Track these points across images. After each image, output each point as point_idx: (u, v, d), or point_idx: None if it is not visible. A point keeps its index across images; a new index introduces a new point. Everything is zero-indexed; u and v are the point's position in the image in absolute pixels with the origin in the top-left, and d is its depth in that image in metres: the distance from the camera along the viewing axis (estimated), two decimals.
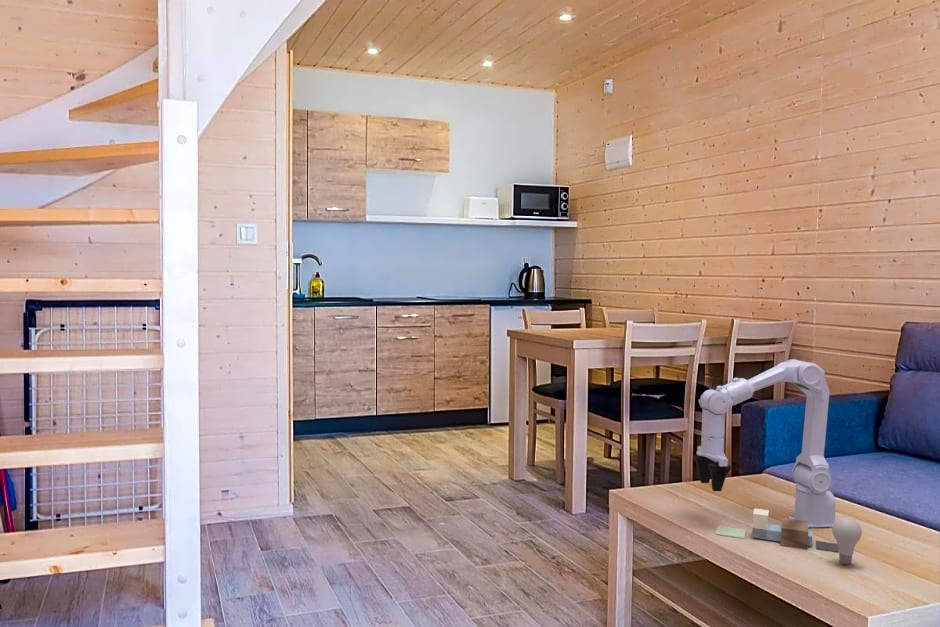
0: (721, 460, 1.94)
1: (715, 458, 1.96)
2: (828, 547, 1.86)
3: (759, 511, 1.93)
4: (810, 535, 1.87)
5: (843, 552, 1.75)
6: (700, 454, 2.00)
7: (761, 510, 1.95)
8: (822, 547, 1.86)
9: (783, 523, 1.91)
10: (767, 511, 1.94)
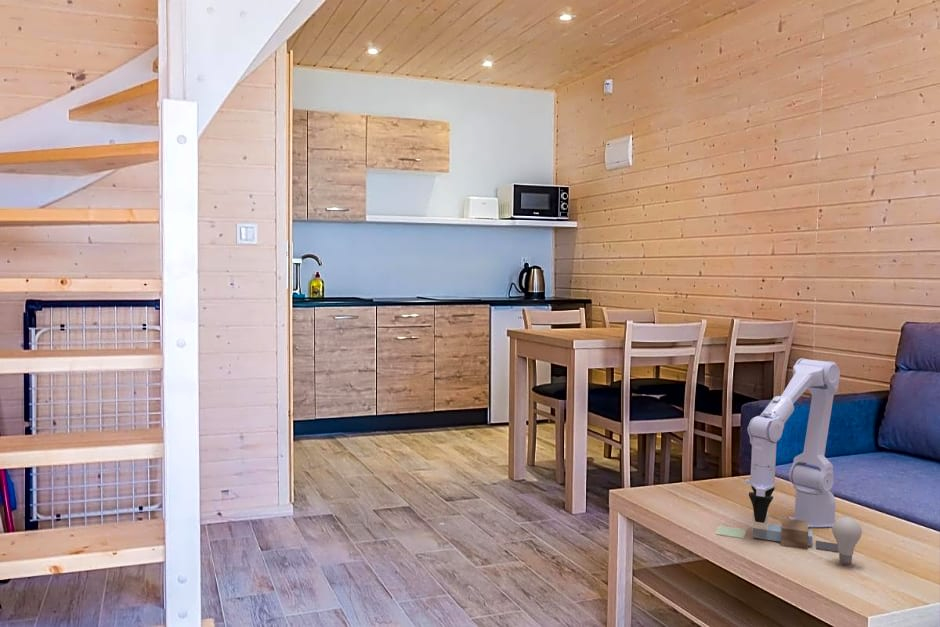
0: (757, 489, 1.87)
1: (755, 487, 1.89)
2: (828, 547, 1.86)
3: None
4: (810, 535, 1.87)
5: (843, 552, 1.75)
6: (747, 482, 1.94)
7: None
8: (822, 547, 1.86)
9: (783, 523, 1.91)
10: (767, 511, 1.94)
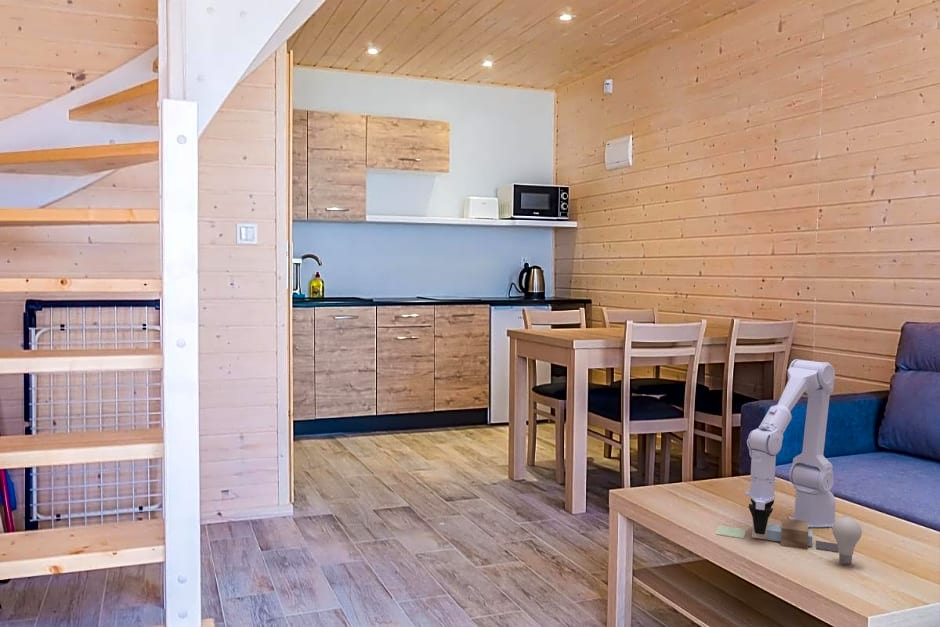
0: (757, 503, 1.87)
1: (754, 500, 1.89)
2: (828, 547, 1.86)
3: None
4: (810, 535, 1.87)
5: (843, 552, 1.75)
6: (746, 494, 1.94)
7: None
8: (822, 547, 1.86)
9: (783, 523, 1.91)
10: None
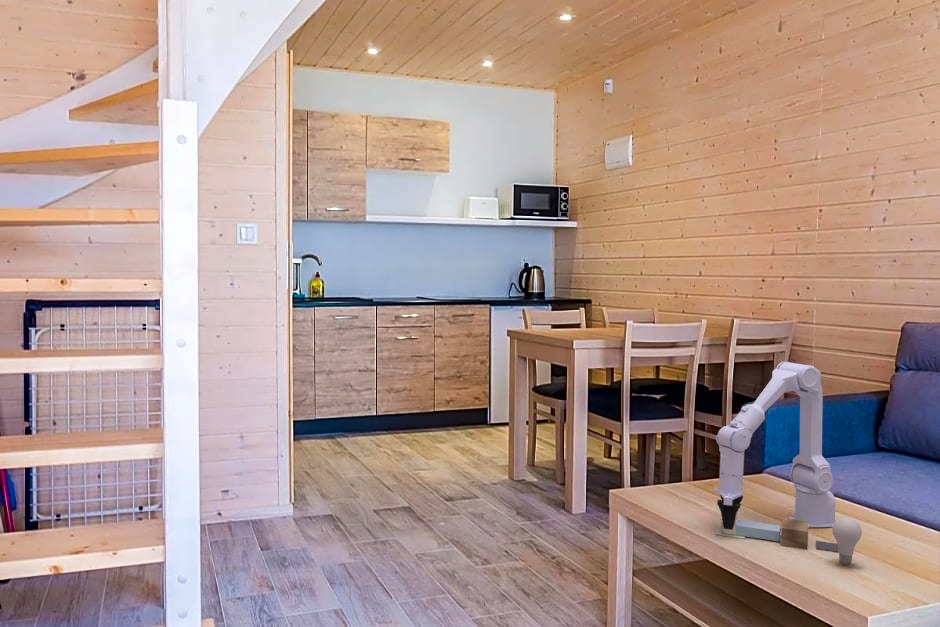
0: (725, 498, 1.90)
1: (723, 496, 1.92)
2: (828, 547, 1.86)
3: None
4: (778, 530, 1.90)
5: (843, 552, 1.75)
6: (715, 490, 1.97)
7: None
8: (822, 547, 1.86)
9: (783, 523, 1.91)
10: None
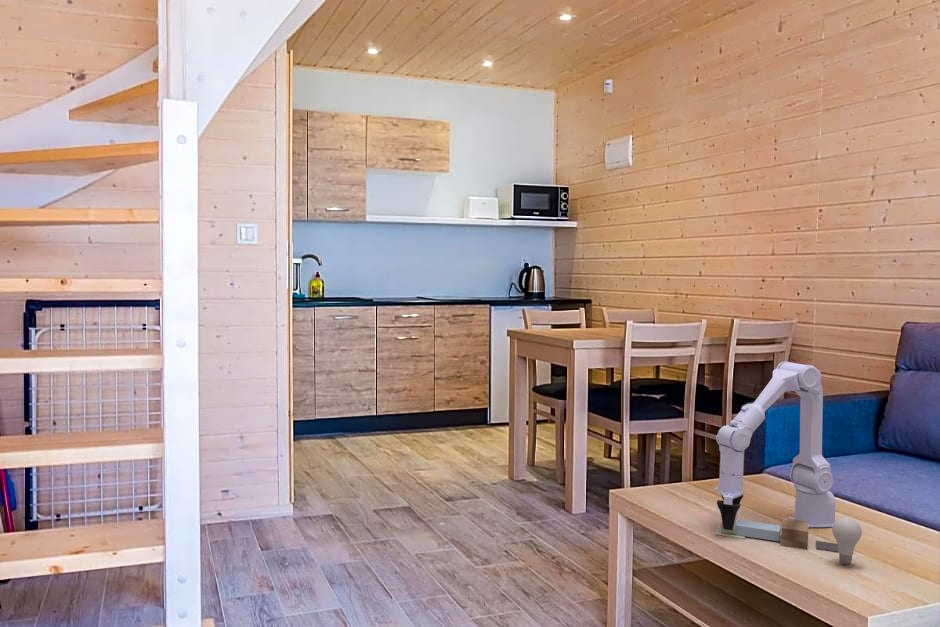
0: (725, 498, 1.90)
1: (723, 495, 1.92)
2: (828, 547, 1.86)
3: None
4: (778, 530, 1.90)
5: (843, 552, 1.75)
6: (715, 490, 1.97)
7: None
8: (822, 547, 1.86)
9: (783, 523, 1.91)
10: None
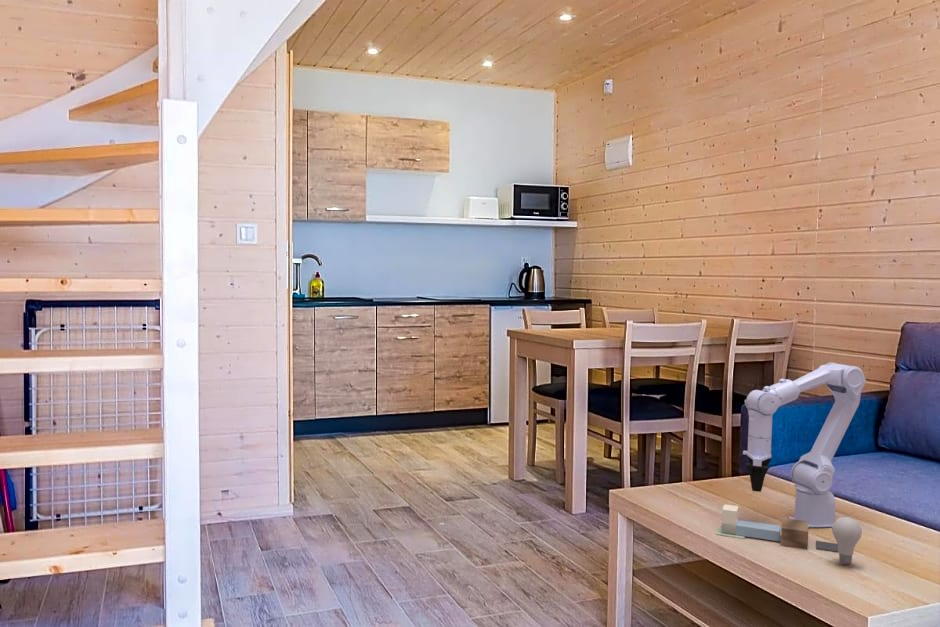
0: (754, 459, 1.95)
1: (752, 457, 1.97)
2: (828, 547, 1.86)
3: (728, 507, 1.96)
4: (778, 530, 1.90)
5: (843, 552, 1.75)
6: (744, 453, 2.02)
7: (730, 506, 1.98)
8: (822, 547, 1.86)
9: (783, 523, 1.91)
10: (736, 507, 1.97)
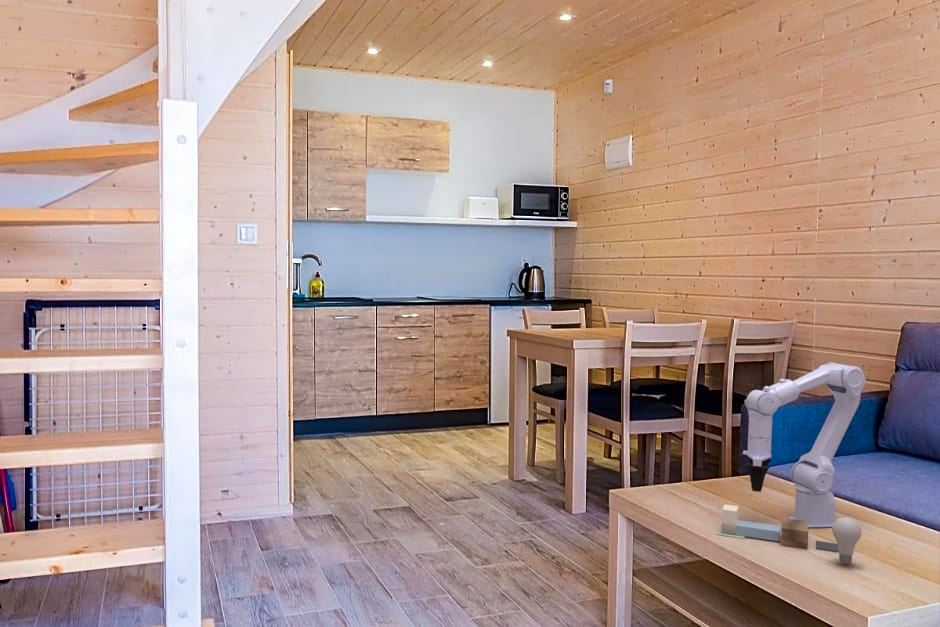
0: (754, 459, 1.95)
1: (752, 457, 1.97)
2: (828, 547, 1.86)
3: (728, 507, 1.96)
4: (778, 530, 1.90)
5: (843, 552, 1.75)
6: (744, 453, 2.02)
7: (730, 506, 1.98)
8: (822, 547, 1.86)
9: (783, 523, 1.91)
10: (736, 507, 1.97)
